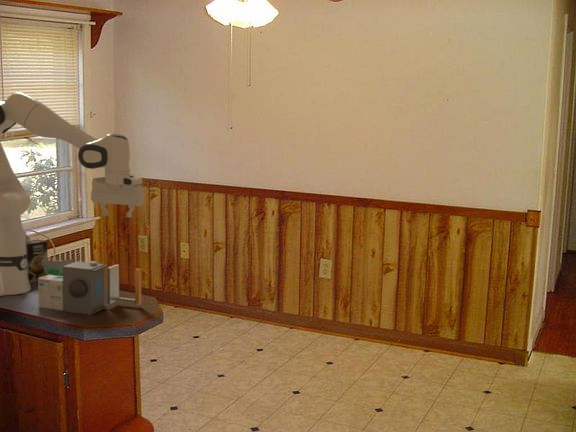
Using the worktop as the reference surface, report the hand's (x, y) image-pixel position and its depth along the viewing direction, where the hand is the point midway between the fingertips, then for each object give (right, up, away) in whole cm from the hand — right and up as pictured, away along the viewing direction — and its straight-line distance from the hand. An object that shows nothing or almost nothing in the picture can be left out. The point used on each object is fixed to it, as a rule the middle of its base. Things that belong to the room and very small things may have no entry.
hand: (117, 216), depth 275 cm
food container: (-29, -27, +22) cm, 46 cm away
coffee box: (-40, -26, +27) cm, 55 cm away
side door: (+4, -32, -7) cm, 33 cm away
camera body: (-9, -33, -13) cm, 36 cm away
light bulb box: (-20, -33, -9) cm, 39 cm away
